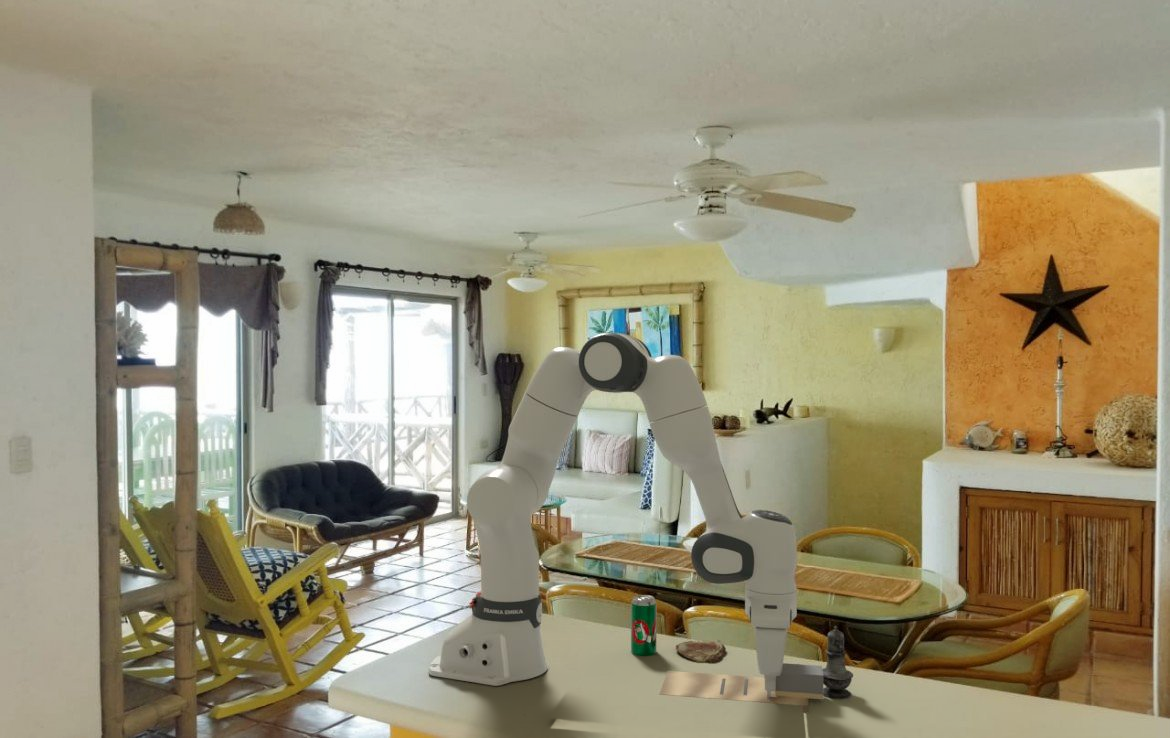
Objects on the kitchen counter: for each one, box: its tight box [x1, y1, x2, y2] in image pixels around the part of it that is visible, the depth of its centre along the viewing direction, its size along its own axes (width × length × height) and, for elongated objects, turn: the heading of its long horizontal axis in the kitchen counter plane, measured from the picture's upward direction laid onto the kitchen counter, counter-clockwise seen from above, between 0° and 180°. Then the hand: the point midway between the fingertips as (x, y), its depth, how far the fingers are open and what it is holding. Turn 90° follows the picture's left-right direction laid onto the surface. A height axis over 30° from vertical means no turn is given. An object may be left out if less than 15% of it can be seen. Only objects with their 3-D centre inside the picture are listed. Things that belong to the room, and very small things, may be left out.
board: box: [659, 670, 810, 714], centre depth 152 cm, size 25×12×1 cm, turn 78°
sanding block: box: [775, 662, 824, 700], centre depth 150 cm, size 8×5×4 cm, turn 78°
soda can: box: [630, 594, 657, 657], centre depth 172 cm, size 5×5×12 cm
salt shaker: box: [822, 625, 854, 700], centre depth 152 cm, size 6×6×12 cm
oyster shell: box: [675, 639, 727, 664], centre depth 172 cm, size 13×10×3 cm
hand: (770, 683), depth 151 cm, fingers closed on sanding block, 5 cm apart
